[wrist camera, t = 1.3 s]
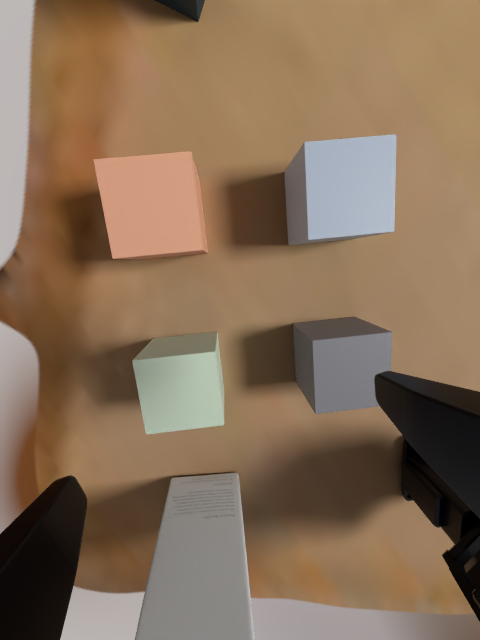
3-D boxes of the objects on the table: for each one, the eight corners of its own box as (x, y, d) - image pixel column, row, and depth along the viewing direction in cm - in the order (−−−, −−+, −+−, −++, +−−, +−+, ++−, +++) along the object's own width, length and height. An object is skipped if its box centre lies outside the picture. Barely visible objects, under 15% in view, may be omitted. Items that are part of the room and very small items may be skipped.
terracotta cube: (199, 180, 19) (191, 151, 14) (207, 253, 20) (202, 250, 15) (127, 186, 19) (93, 159, 14) (139, 259, 20) (112, 258, 15)
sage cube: (217, 331, 21) (215, 351, 16) (224, 389, 22) (224, 425, 17) (153, 338, 21) (132, 360, 16) (163, 396, 22) (146, 434, 17)
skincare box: (175, 515, 25) (129, 750, 13) (170, 472, 24) (116, 683, 12) (243, 509, 25) (260, 734, 13) (241, 467, 24) (258, 667, 12)
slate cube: (353, 166, 19) (396, 134, 15) (353, 238, 20) (394, 231, 16) (283, 172, 19) (304, 141, 14) (288, 245, 20) (308, 239, 15)
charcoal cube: (354, 316, 22) (391, 332, 17) (354, 374, 23) (390, 404, 18) (292, 323, 22) (312, 340, 17) (295, 381, 23) (315, 413, 18)
